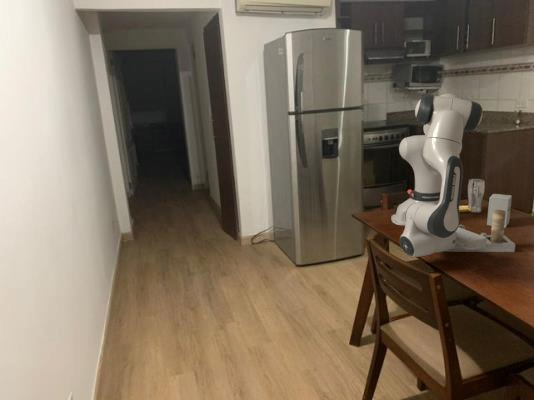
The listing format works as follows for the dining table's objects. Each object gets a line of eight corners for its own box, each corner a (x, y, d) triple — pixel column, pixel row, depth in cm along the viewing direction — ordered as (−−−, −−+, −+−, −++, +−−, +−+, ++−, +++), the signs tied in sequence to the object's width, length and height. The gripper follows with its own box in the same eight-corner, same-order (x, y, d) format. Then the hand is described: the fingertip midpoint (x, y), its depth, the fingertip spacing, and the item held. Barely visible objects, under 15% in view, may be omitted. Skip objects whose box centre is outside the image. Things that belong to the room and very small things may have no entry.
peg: (492, 249, 144) (495, 213, 141) (488, 245, 148) (491, 209, 144) (503, 249, 144) (507, 212, 140) (499, 245, 147) (503, 209, 144)
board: (446, 251, 145) (447, 243, 144) (440, 242, 153) (440, 234, 152) (514, 251, 141) (515, 243, 140) (503, 242, 149) (504, 234, 148)
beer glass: (481, 209, 190) (483, 178, 186) (483, 213, 184) (486, 182, 180) (465, 208, 193) (467, 178, 189) (467, 212, 186) (469, 182, 182)
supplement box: (506, 228, 164) (509, 199, 160) (486, 225, 168) (488, 197, 165) (509, 223, 169) (512, 195, 166) (490, 220, 174) (492, 193, 171)
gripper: (468, 239, 125) (500, 231, 130) (423, 221, 144) (452, 215, 148) (466, 257, 127) (498, 249, 131) (422, 237, 146) (451, 231, 150)
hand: (473, 231), depth 140 cm, fingers open, 8 cm apart
